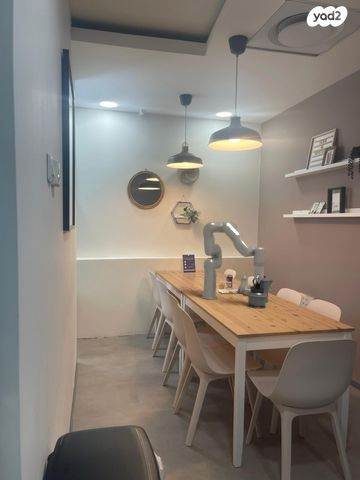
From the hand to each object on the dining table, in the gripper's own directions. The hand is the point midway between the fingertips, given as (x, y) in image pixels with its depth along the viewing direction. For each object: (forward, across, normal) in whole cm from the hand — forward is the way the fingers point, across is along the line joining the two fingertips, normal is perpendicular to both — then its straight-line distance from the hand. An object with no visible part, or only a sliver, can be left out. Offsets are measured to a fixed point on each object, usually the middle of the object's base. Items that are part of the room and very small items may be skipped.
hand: (257, 288), depth 248 cm
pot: (+13, 0, 0) cm, 13 cm away
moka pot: (+13, -18, +2) cm, 23 cm away
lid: (+4, 0, 0) cm, 4 cm away
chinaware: (+14, -45, -11) cm, 48 cm away
